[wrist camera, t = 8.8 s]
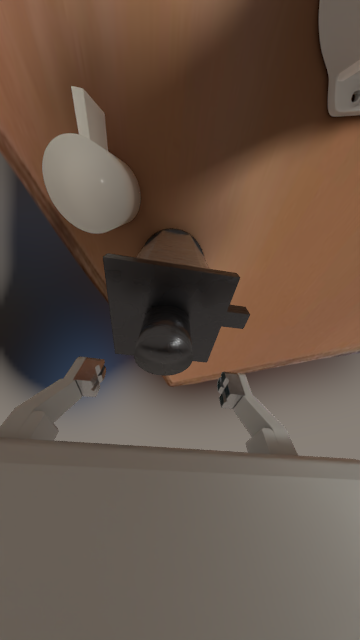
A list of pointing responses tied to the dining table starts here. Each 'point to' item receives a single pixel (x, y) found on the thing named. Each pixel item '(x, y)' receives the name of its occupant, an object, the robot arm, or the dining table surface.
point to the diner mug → (89, 173)
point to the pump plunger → (164, 341)
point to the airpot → (170, 291)
